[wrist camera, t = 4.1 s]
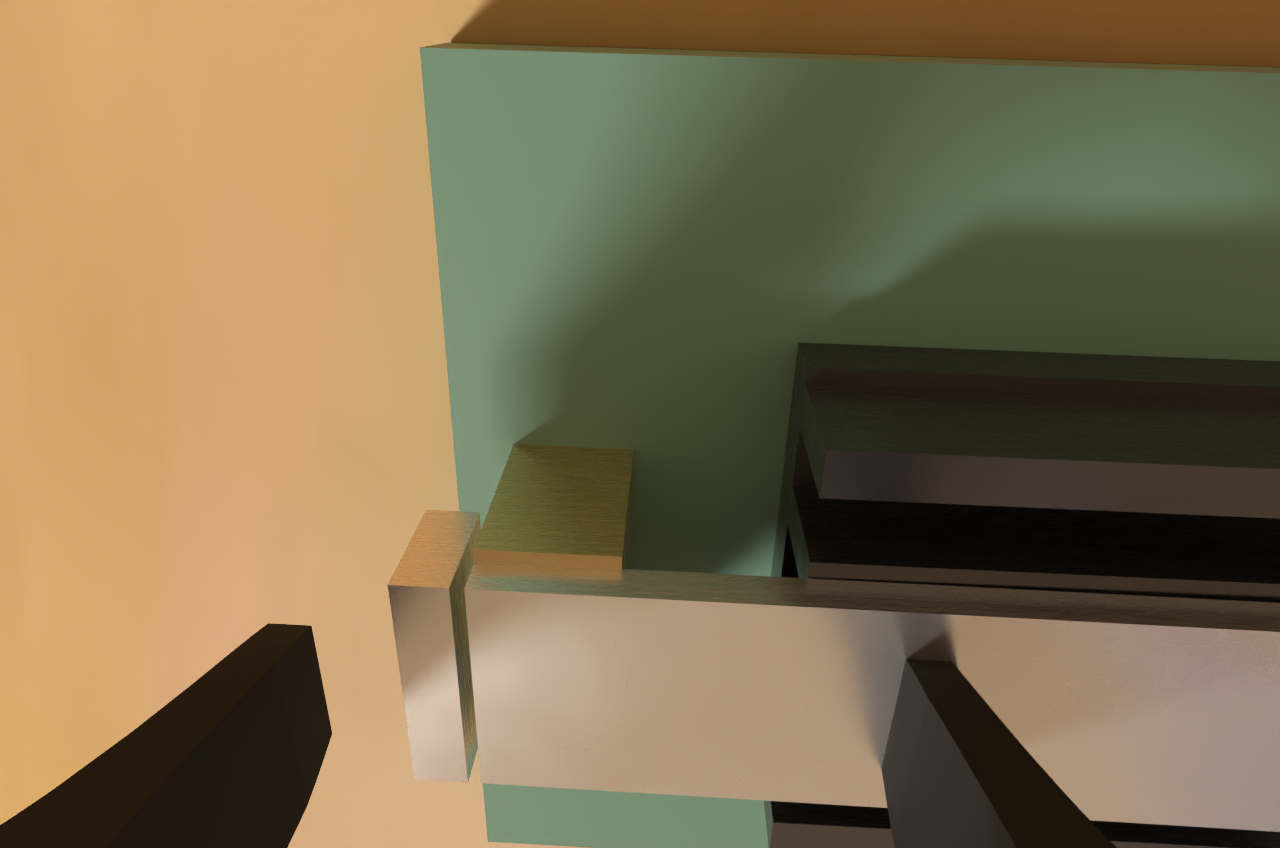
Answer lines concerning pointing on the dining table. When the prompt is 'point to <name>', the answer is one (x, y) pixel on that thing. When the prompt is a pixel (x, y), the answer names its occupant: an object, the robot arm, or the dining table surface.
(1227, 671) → the beige long bar
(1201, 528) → the dark and beige blocks
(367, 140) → the dining table surface
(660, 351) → the circuit board
